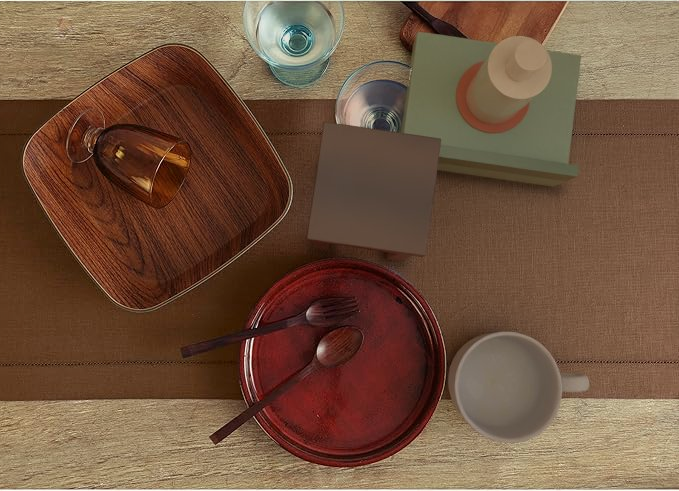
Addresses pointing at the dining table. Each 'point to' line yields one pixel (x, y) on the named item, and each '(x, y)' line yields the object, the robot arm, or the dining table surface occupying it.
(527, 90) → the bottle
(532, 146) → the green block orange circle
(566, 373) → the teacup
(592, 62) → the dining table surface
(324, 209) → the stand
